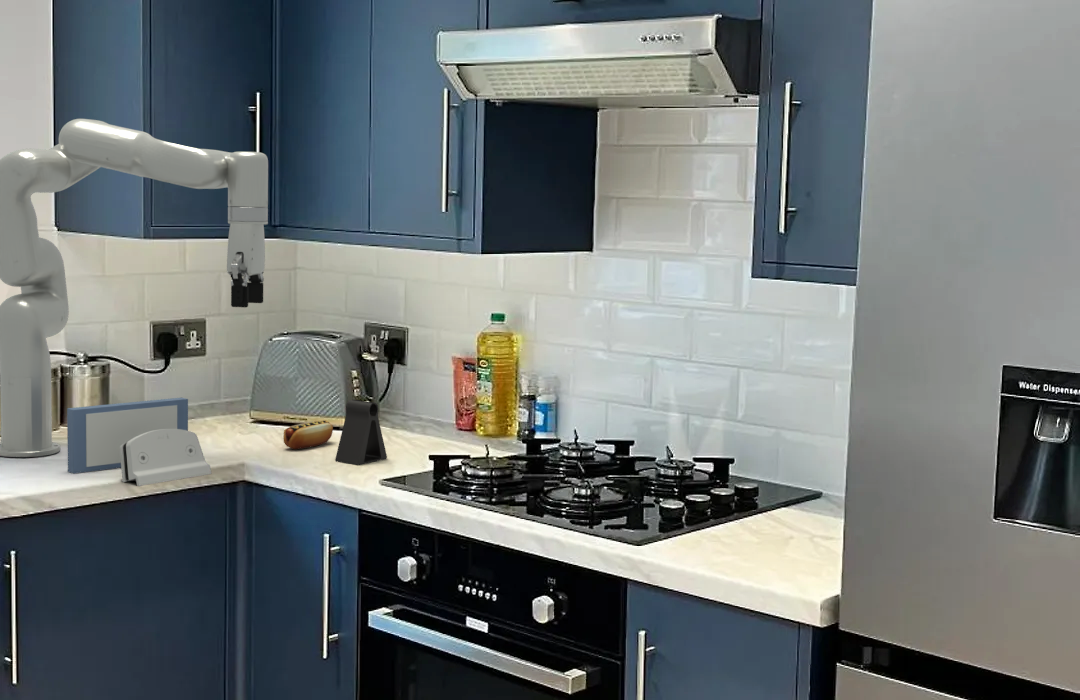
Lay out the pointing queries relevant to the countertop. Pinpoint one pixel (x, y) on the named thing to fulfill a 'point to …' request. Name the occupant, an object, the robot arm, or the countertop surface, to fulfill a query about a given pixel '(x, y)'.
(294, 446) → the hot dog
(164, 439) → the hinge
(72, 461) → the cabinet side
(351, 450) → the dark grey a-frame stand
